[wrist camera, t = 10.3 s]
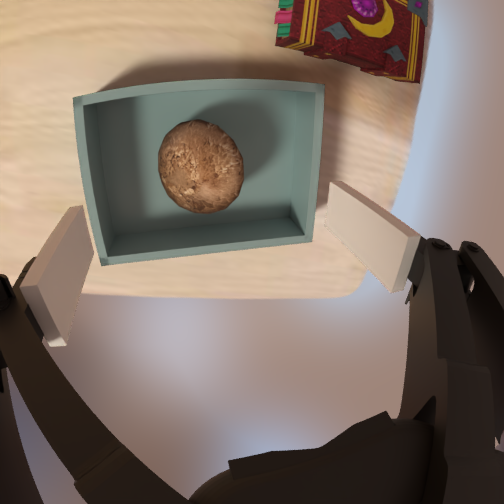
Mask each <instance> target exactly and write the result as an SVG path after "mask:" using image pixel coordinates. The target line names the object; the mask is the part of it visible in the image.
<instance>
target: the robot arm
mask: <svg viewBox="0 0 504 504" xmlns="http://www.w3.org/2000/svg"><path fill="white" fill-rule="evenodd" d="M325 227H326V228H327V229H328V230H329V231H330V232H331V233H332V234H333V235H335V236H336V237H337V238H338V239H339V240H340V241H341V242H342V243H343V244H344V245H345V246H346V247H347V248H348V249H349V250H350V251H351V252H352V253H353V254H354V255H355V256H356V257H357V258H358V259H359V260H360V261H361V262H362V263H363V265H364V266H365V267H366V268H367V269H368V270H369V271H370V272H371V273H372V274H373V275H374V276H375V277H376V278H377V279H378V280H379V281H380V282H381V283H382V284H383V285H384V286H385V288H386V289H387V290H388V291H389V292H390V293H394V292H398V291H402V290H404V287H405V284H406V281H407V278H408V279H409V280H410V281H411V282H412V286H411V288H410V291H409V294H408V296H407V299H406V302H405V304H407V303H408V301H410V310H409V311H410V312H409V334H408V349H407V361H406V371H405V380H404V389H403V396H402V403H401V409H400V413H399V416H398V418H397V419H391V418H390V416H389V415H388V413H387V411H384V412H382V413H380V414H378V415H376V416H373V417H371V418H369V419H366V420H364V421H362V422H359V423H356V424H354V425H353V426H351V427H350V428H348V429H347V430H345V431H344V432H343V433H341V434H340V435H338V436H337V437H336V438H334V439H332V440H331V441H329V442H328V443H327V444H325V445H323V446H322V447H319V448H315V449H303V450H288V451H270V452H266V453H262V454H258V455H253V456H249V457H244V458H239V459H234V460H229V461H228V463H229V468H230V469H228V470H226V471H224V472H222V473H220V474H218V475H216V476H214V477H213V478H211V479H209V480H208V481H207V482H205V483H204V484H203V485H202V486H201V487H199V488H198V489H197V490H196V491H195V492H194V494H193V495H192V496H191V497H190V498H189V500H187V499H186V498H184V497H183V496H182V495H181V494H179V493H178V492H176V491H175V490H174V489H173V488H171V487H170V486H169V485H168V484H167V483H165V482H164V481H163V480H162V479H161V478H159V477H158V476H157V475H156V474H155V473H153V472H152V471H151V470H150V469H149V468H148V467H147V466H146V465H144V464H143V463H142V462H141V461H140V460H139V459H138V458H137V457H136V456H135V455H134V454H133V453H132V452H131V451H130V450H129V449H127V448H126V447H125V446H124V445H123V444H122V443H121V442H120V441H119V440H118V439H117V438H116V437H115V436H114V435H113V434H112V433H111V432H110V431H109V430H108V429H107V428H106V426H105V425H104V424H103V423H102V422H101V421H100V420H99V419H98V417H97V416H96V415H95V414H94V413H93V412H92V411H91V409H90V408H89V407H88V406H87V405H86V403H85V402H84V401H83V400H82V398H81V397H80V396H79V395H78V393H77V392H76V391H75V390H74V388H73V387H72V386H71V384H70V383H69V382H68V380H67V379H66V378H65V376H64V375H63V373H62V372H61V370H60V369H59V368H58V366H57V365H56V363H55V362H54V360H53V359H52V357H51V356H50V354H49V353H48V351H47V350H46V348H45V347H44V345H43V343H42V339H43V336H44V337H45V339H46V340H47V342H48V344H49V345H50V346H66V345H67V342H68V337H69V334H70V329H71V326H72V322H73V318H74V315H75V311H76V307H77V304H78V301H79V297H80V294H81V291H82V288H83V284H84V281H85V278H86V275H87V272H88V269H89V266H90V263H91V261H92V258H93V255H94V250H93V247H92V243H91V239H90V235H89V231H88V227H87V222H86V218H85V214H84V209H83V205H81V206H75V207H70V208H69V209H68V210H67V212H66V213H65V214H64V216H63V217H62V219H61V220H60V222H59V223H58V225H57V226H56V227H55V229H54V230H53V232H52V233H51V235H50V236H49V238H48V239H47V241H46V243H45V244H44V246H43V247H42V249H41V251H40V252H39V254H38V255H37V257H33V258H32V259H31V260H30V261H29V262H28V263H27V264H26V265H25V267H24V269H23V270H22V273H21V274H20V275H19V277H18V279H17V281H16V282H15V284H14V286H13V288H12V287H11V285H10V282H9V280H8V278H7V276H6V275H4V274H0V504H44V503H43V501H42V499H41V496H40V494H39V491H38V489H37V487H36V484H35V481H34V479H33V476H32V474H31V471H30V468H29V465H28V462H27V459H26V456H25V453H24V450H23V446H22V443H21V439H20V436H19V432H18V428H17V424H16V420H15V416H14V411H13V406H12V401H11V396H10V390H9V384H8V378H7V371H6V367H8V368H9V371H10V373H11V375H12V377H13V379H14V382H15V384H16V386H17V388H18V390H19V392H20V394H21V396H22V398H23V400H24V402H25V404H26V405H27V407H28V409H29V411H30V413H31V414H32V416H33V418H34V420H35V421H36V423H37V425H38V426H39V428H40V430H41V431H42V433H43V435H44V436H45V438H46V439H47V441H48V442H49V444H50V445H51V447H52V448H53V450H54V451H55V453H56V454H57V456H58V457H59V459H60V460H61V461H62V463H63V464H64V465H65V467H66V468H67V470H68V471H69V472H70V474H71V475H72V476H73V478H74V480H75V482H74V486H75V488H76V489H77V491H78V492H79V494H80V495H81V496H82V498H83V499H84V500H85V501H86V502H87V503H88V504H504V277H503V276H502V274H501V273H500V272H499V270H498V269H497V267H496V266H495V265H494V263H493V262H492V261H491V259H490V258H489V257H488V255H487V254H486V253H485V252H484V250H483V249H482V248H481V247H480V246H478V245H477V244H476V243H474V242H469V241H463V242H462V244H461V247H460V249H459V251H457V250H452V248H451V246H450V245H449V244H447V243H446V242H444V241H443V240H440V239H435V238H429V239H427V240H426V239H425V238H423V237H422V236H421V235H420V234H418V233H417V232H416V231H414V230H413V229H412V228H410V227H409V226H408V225H406V224H405V223H404V222H402V221H401V220H399V219H398V218H396V217H395V216H394V215H392V214H391V213H389V212H388V211H386V210H385V209H384V208H382V207H381V206H379V205H378V204H376V203H375V202H373V201H372V200H370V199H369V198H367V197H366V196H364V195H363V194H361V193H359V192H358V191H356V190H355V189H353V188H352V187H350V186H348V185H347V184H345V183H344V182H342V181H330V186H329V195H328V203H327V211H326V219H325ZM473 281H474V288H473V290H472V292H471V291H470V287H471V285H472V282H473ZM495 437H496V439H497V441H498V443H499V445H498V446H497V447H496V448H495Z"/></svg>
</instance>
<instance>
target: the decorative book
mask: <svg viewBox="0 0 504 504" xmlns="http://www.w3.org/2000/svg"><path fill="white" fill-rule="evenodd" d="M278 8H280V11H278V12H276V15H275V23H274V24H276V23H278V29H277V37H276V44H275V46H280V47H285V48H290V49H294V50H299V51H303V52H304V55H307V56H311V57H315V58H319V59H330V58H331V59H334V60H338V61H341V62H344V63H348V64H351V65H354V66H357V67H360V68H361V69H360V71H363V72H366V73H369V74H372V75H375V76H385V77H388V78H390V79H393V80H395V81H400V82H410V83H419V84H420V76H421V68H422V59H423V48H424V36H425V27H427V17H428V0H279V7H278Z"/></svg>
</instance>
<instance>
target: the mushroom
mask: <svg viewBox="0 0 504 504" xmlns="http://www.w3.org/2000/svg"><path fill="white" fill-rule="evenodd" d="M158 172H159V176H160V179H161V183H162V185H163V187H164V189H165V191H166V193H167V195H168V197H169V198H170V199H172V200H173V201H174V202H175V203H176V204H177V205H178V206H179V207H181V208H183V209H186V210H188V211H190V212H193V213H200V214H212V213H215V212H218V211H221V210H224V209H226V208H227V207H228V206H229V205H230V204H231V203H232V202H233V201H234V200H235V199H236V198H237V197H238V196H239V194H240V191H241V187H242V184H243V181H244V165H243V157H242V155H241V153H240V151H239V149H238V148H237V146H236V144H235V142H234V140H233V139H232V138H231V137H230V136H229V135H228V134H227V133H226V132H225V131H224V130H222V129H221V128H220V127H219V126H218V125H215V124H212V123H210V122H207V121H204V120H201V119H196V120H191V121H186V122H181V123H179V124H177V125H176V126H175V127H174V128H173V129H171V130H170V131H169V132H168V133H167V134H166V135H165V137H164V139H163V141H162V144H161V146H160V149H159V152H158Z"/></svg>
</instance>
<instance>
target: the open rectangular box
mask: <svg viewBox="0 0 504 504" xmlns="http://www.w3.org/2000/svg"><path fill="white" fill-rule="evenodd" d="M324 92H325V84H318V83H309V82H298V81H285V80H267V79H204V80H186V81H173V82H162V83H153V84H145V85H138V86H131V87H124V88H118V89H112V90H107V91H101V92H96V93H92V94H87V95H82V96H78V97H74V98H73V107H74V120H75V131H76V140H77V149H78V156H79V163H80V170H81V176H82V182H83V188H84V194H85V199H86V204H87V209H88V214H89V218H90V223H91V227H92V232H93V236H94V240H95V244H96V248H97V252H98V255H99V259H100V263H101V266H105V265H114V264H123V263H131V262H140V261H149V260H157V259H166V258H175V257H183V256H192V255H201V254H210V253H219V252H227V251H236V250H245V249H254V248H263V247H272V246H281V245H290V244H299V243H308V242H312V237H313V229H314V220H315V211H316V201H317V191H318V181H319V169H320V157H321V144H322V129H323V112H324ZM196 119H201V120H204V121H207V122H210V123H212V124H215V125H218V126H219V127H220V128H221V129H222V130H224V131H225V132H226V133H227V134H228V135H229V136H230V137H231V138H232V139H233V140H234V142H235V144H236V146H237V148H238V149H239V151H240V153H241V155H242V157H243V165H244V181H243V184H242V187H241V191H240V194H239V196H238V197H237V198H236V199H235V200H234V201H233V202H232V203H231V204H230V205H229V206H228V207H227V208H226V209H224V210H221V211H218V212H215V213H212V214H200V213H193V212H190V211H188V210H186V209H183V208H181V207H179V206H178V205H177V204H176V203H175V202H174V201H173V200H172V199H170V198H169V197H168V195H167V193H166V191H165V189H164V187H163V185H162V183H161V179H160V176H159V172H158V152H159V149H160V146H161V144H162V141H163V139H164V137H165V135H166V134H167V133H168V132H169V131H170V130H171V129H173V128H174V127H175V126H176V125H177V124H179V123H181V122H186V121H191V120H196Z"/></svg>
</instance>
